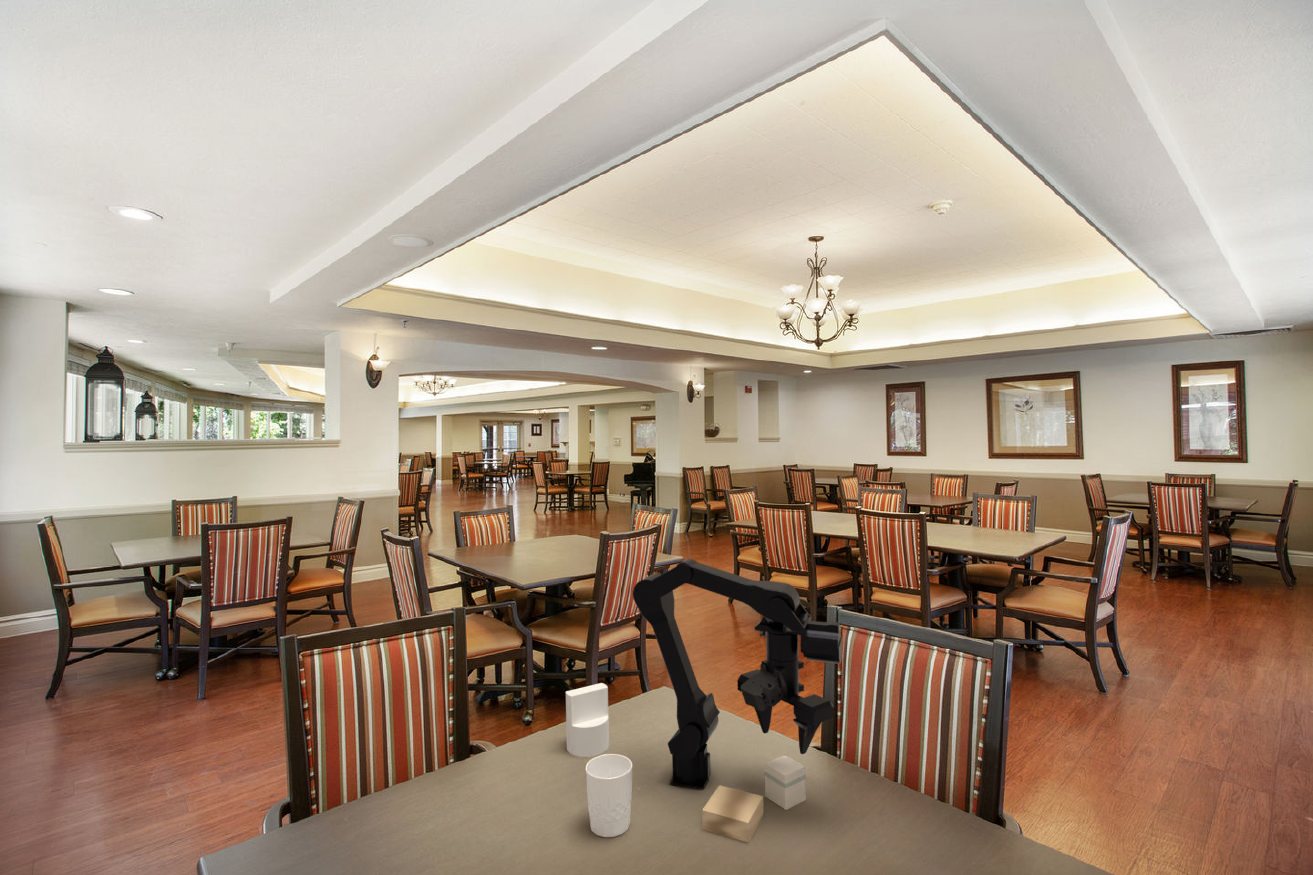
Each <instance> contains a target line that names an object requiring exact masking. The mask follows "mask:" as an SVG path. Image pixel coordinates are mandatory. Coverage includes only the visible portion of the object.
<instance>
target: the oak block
mask: <svg viewBox="0 0 1313 875" xmlns="http://www.w3.org/2000/svg"><path fill="white" fill-rule="evenodd" d="M701 811H702V812H701V815H702V818H701V819H702V820H701V823H702V830H704V831H708V832H711V833H715V834H718V835H721V836H725V837H728V838H732V839H735V840H738V841H743V842H745V843H750V841H751V840H752V837H753V835H754V833H755V832H756V830H757V828H758V825H759V824H760V822H761V820H762V818H763V817H764V796H763V795H759V794H756V793H752V792H748V791H743V790H741V789H740V790H739V789H737V788H736V789H735V788H732V787H729V786H725V785H718V786H717V788H716V789H715V791H714V793H713V794H712V795H711V797H710V798H709V799H708V800H707V802H706V804H705V806H704V807H703V808H702V810H701Z"/></svg>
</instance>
